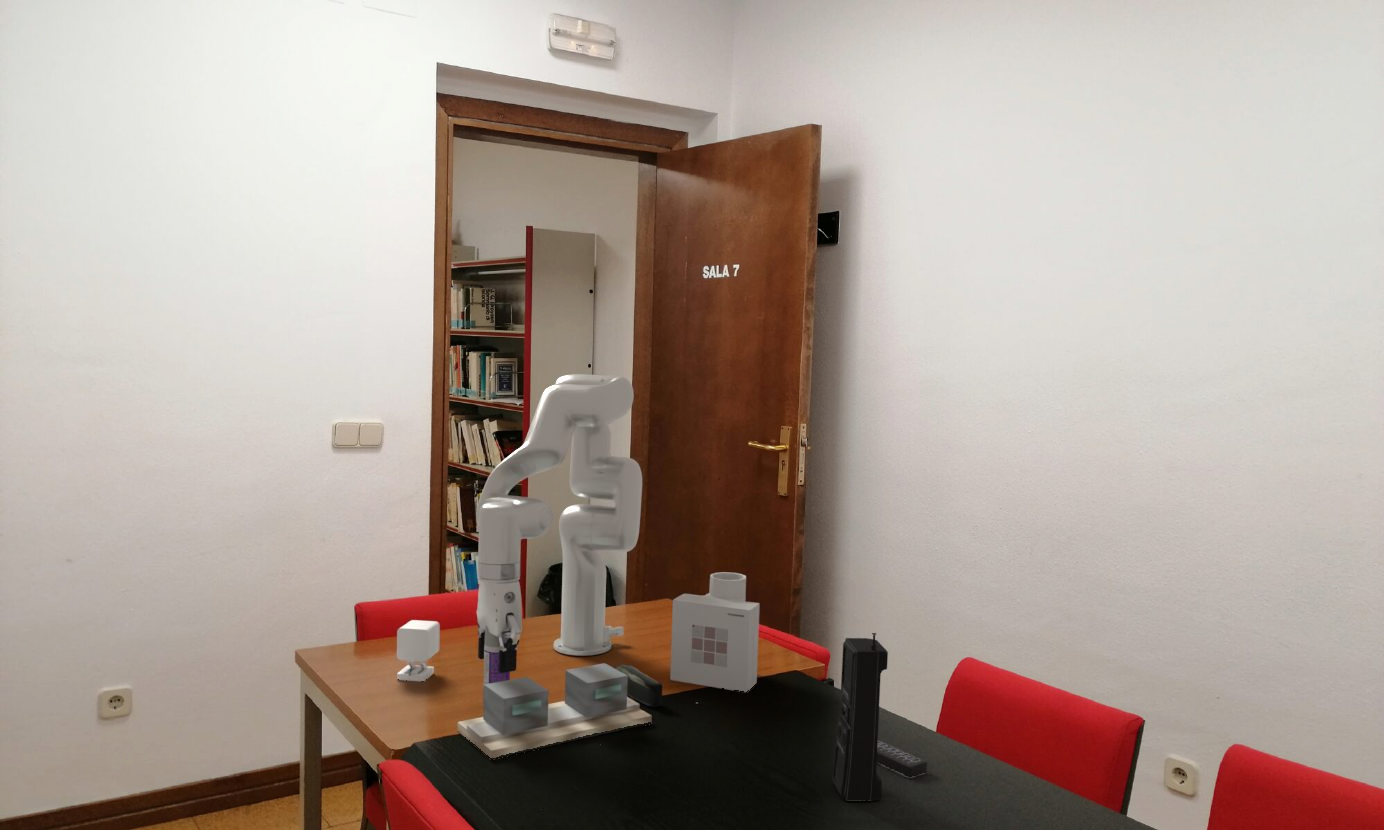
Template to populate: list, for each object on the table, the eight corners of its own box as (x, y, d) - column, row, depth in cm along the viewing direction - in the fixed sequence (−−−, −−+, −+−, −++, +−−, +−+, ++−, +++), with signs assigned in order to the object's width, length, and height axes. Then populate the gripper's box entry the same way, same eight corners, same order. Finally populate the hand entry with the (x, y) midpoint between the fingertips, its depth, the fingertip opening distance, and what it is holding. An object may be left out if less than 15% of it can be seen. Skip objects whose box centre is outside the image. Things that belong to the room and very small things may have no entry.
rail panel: (610, 699, 183) (612, 655, 182) (651, 723, 171) (652, 677, 171) (457, 730, 165) (458, 682, 165) (491, 759, 154) (492, 708, 154)
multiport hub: (909, 781, 152) (910, 767, 152) (842, 749, 164) (843, 736, 164) (928, 775, 155) (928, 761, 155) (861, 744, 166) (861, 731, 166)
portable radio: (829, 779, 151) (836, 620, 149) (867, 779, 151) (874, 620, 150) (841, 802, 143) (848, 634, 142) (881, 802, 144) (889, 634, 142)
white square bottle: (669, 680, 195) (672, 581, 194) (703, 655, 212) (706, 564, 211) (746, 693, 189) (750, 591, 188) (775, 666, 206) (778, 572, 205)
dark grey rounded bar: (665, 681, 180) (620, 658, 192) (652, 684, 178) (607, 661, 190) (664, 708, 180) (619, 683, 192) (651, 711, 179) (606, 685, 190)
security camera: (439, 670, 196) (439, 621, 196) (426, 681, 189) (427, 631, 189) (408, 668, 197) (409, 619, 196) (394, 679, 190) (395, 629, 189)
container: (513, 700, 181) (515, 620, 180) (500, 708, 176) (502, 626, 175) (491, 696, 182) (493, 617, 181) (478, 705, 178) (479, 623, 177)
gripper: (539, 578, 173) (536, 674, 174) (498, 559, 187) (496, 649, 188) (499, 582, 168) (497, 681, 169) (461, 563, 183) (459, 654, 184)
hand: (496, 664), depth 179 cm, fingers open, 8 cm apart
